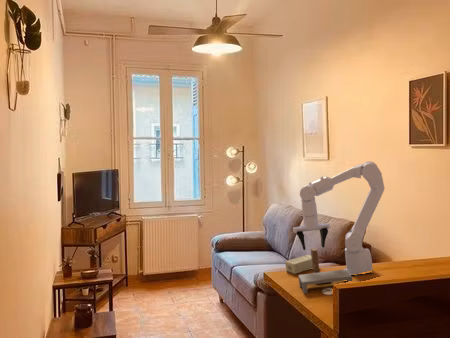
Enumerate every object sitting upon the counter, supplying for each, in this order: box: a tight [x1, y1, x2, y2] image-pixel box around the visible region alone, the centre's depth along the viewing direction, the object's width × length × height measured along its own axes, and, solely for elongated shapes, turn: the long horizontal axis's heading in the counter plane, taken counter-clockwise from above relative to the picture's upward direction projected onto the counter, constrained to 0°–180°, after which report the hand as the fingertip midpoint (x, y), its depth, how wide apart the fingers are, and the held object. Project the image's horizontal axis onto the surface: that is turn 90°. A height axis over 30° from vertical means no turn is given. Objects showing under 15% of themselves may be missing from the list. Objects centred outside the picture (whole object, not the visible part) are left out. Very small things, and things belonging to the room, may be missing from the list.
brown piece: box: [310, 247, 320, 273], centre depth 170 cm, size 6×12×10 cm, turn 0°
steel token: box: [321, 287, 333, 296], centre depth 154 cm, size 5×5×1 cm
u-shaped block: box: [298, 268, 353, 294], centre depth 160 cm, size 18×8×4 cm, turn 90°
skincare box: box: [284, 254, 313, 275], centre depth 182 cm, size 6×4×12 cm
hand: (313, 248), depth 174 cm, fingers open, 7 cm apart
